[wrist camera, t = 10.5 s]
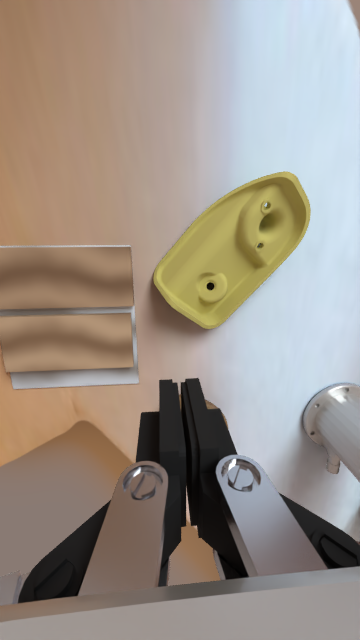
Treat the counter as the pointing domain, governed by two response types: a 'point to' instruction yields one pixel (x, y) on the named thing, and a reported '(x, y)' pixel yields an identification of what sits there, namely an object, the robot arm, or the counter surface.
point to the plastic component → (233, 248)
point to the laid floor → (68, 299)
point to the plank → (66, 341)
